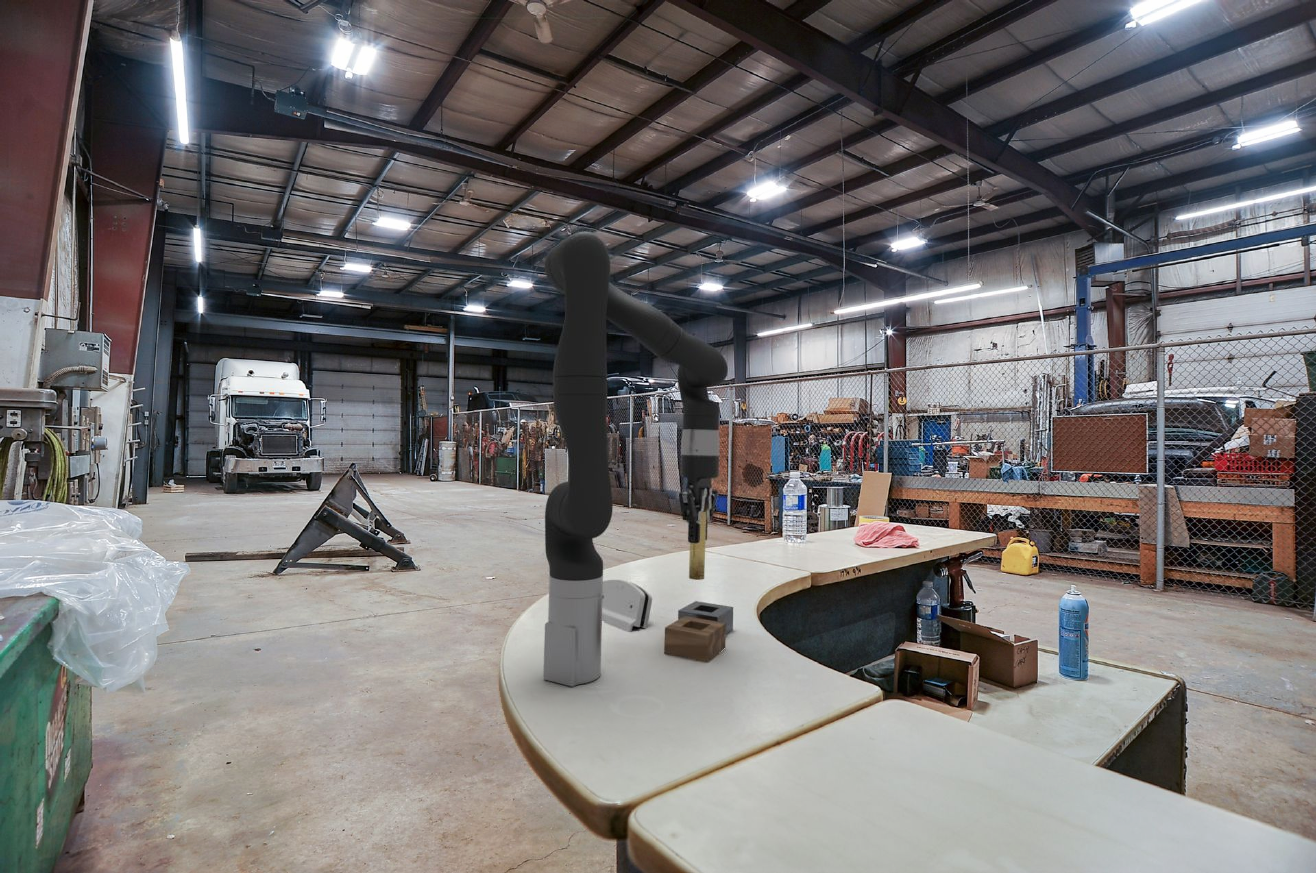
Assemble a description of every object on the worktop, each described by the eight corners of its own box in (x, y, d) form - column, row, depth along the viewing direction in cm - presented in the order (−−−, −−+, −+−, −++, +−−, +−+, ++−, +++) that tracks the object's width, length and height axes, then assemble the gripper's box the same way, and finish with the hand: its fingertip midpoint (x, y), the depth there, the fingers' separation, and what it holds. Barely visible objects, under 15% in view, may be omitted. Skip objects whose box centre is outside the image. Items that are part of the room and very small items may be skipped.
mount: (707, 662, 111) (707, 635, 111) (664, 653, 115) (664, 627, 115) (725, 648, 119) (725, 623, 119) (684, 640, 123) (684, 616, 123)
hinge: (584, 614, 140) (597, 572, 142) (599, 618, 143) (612, 576, 145) (630, 632, 127) (643, 586, 130) (645, 636, 130) (658, 590, 133)
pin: (700, 580, 115) (702, 512, 115) (686, 578, 116) (688, 511, 117) (706, 577, 118) (708, 511, 118) (692, 575, 119) (694, 510, 119)
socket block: (717, 641, 123) (717, 617, 123) (677, 634, 127) (678, 610, 127) (732, 629, 131) (733, 606, 131) (695, 623, 135) (695, 601, 135)
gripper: (703, 453, 109) (700, 548, 109) (731, 454, 122) (728, 539, 122) (666, 452, 113) (664, 544, 113) (697, 452, 125) (695, 535, 125)
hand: (697, 541), depth 117 cm, fingers closed on pin, 3 cm apart
